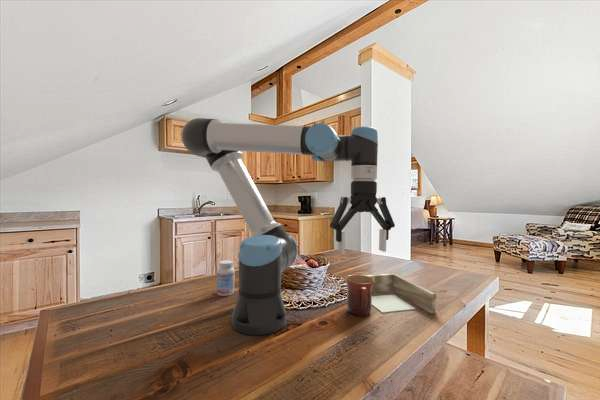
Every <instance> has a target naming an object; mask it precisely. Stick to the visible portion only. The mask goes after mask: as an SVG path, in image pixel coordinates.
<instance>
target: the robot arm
mask: <svg viewBox="0 0 600 400" xmlns="http://www.w3.org/2000/svg"><path fill="white" fill-rule="evenodd" d="M378 135H379V134H378V130H377V129H376V128H375V127H372V126H366V125H365V126H359V127H355V128H354V127H353V129H352V130H351V134H349V135H338V133H337V132H336V131H335V129H334V128H333V127H332V126H330V125H329V124H326V123H323V122H318V123H315V124H313V125H309V126H308V125H307V126H306V125H283V124H280V125H279V124H261V123H260V124H259V123H258V124H257V123H231V122H222V121H221V120H220V119H218V118H203V117H198V118H197V117H196V118H193V119H191V120H189V121H187V122H186V123H185V125H184V126H183V128H182V131H181V140H182V141H181V142H182V145H183V146H184V147H185V149H186V150H187V151H188V152H189V153H190V154H192V155H194V156H197V157H201V158H205V159H206V161H207V163H208V165H209V166H210V168H211V170H212V171H215V172H217V173H218V174H219V175H220V178H221V179H222V181H223V183H224V185H225V187H226V189H227V191H228V192H229V194H230V196H231V198H232V200H233V202H234V203H235V206H236V207H237V209H238V211H239V214H241V217H242V218H243V220H244V222H245V224H246V226H247V228H248V230H249V232H250V233H251V236H249V237H247V238H244V239H243V240H242V241H241V242H240V244H239V249H238V251H239V252H238V297H237V299H236V303H235V305H234V307H233V311H232V314H231V325H232V328H233V329H234V330H235V331H237V332H239V333H240V334H245V335H249V336H262V335H269V334H273V333H275V332H278V331H280V330H281V329H283V328H284V327H285V326H286V325H287V314H288V313H287V311H286V307H285V303H284V299H283V297H282V294H281V293H282V290H281V289H282V288H281V287H282V274H283V273H284V272H285V271H286V269H288V268H290V267H291V266H292V265H293V264H294V263H295V260H296V258H297V256H298V252H299V247H298V243H297V240H296V239H295V238H294V237H293V236H292V235H291V234H290V233H287V232H286V230H285V228H284V226H283V224H282V223H281V222H278V221H277V222H276V221H275V219H274V217H273V216H272V213H271V211H270V210H269V208H268V207H267V205H266V203H265V201H264V199H263V198H262V196H261V193H260V192H259V190H258V188H257V186H256V185H255V182H254V181H253V179H252V177H251V175H250V174H249V172H248V170H247V168H246V166H245V164H244V162H243V158H244V153H243V152H250V153H251V152H252V153H253V152H254V153H270V154H285V155H287V154H288V155H304V156H311V159H312V160H313V161H315V162H322V163H325V162H341V161H342V162H345V161H346V162H351V165H350V172H351V173H350V179H351V180H352V181H351V182H350V197H347V196H341V197H340V200H339V206H338V207H337V210H336V212H335V213H334V215H333V218H332V220H331V222H330V223H329V228H331V229H332V230H335V242H338V245H337V246H338V250H337V251H338V253H340V254H342V255H345V247H346V246H345V245H346V244H345V242H346V240H345V239H346V231H345V230H344V228H345V227H346V226H347V225H348V223H349V222H350V221H351V220H352V219H353V217H354V216H355V215H356V214H357V213H370V214H371V215H372V216H373V218H374V219H375V220H376V222H377V223H378V224H379V226H380V227H381V228H379V229H378V230H379V233H378V234H379V235H378V236H379V237H378V242H379V243H378V250H379V251H381V252H383V253H385V252H387V241H389V234H390V233H389V231H390V230H392V228H395V226H396V225H395V222H394V220H393V217H392V215H391V213H390V210H389V208H388V204H387V198H386V197H385V196H379V197H377V192H378V189H377V188H378V187H377V186H378V182H377V181H376V180H377V179H378V150H379V149H378V148H379V143H378V142H379V140H378V139H379V138H378V137H379V136H378ZM349 203H350V204H351V206H350V207H349V208H348V211H347V212H346V213H345V211H346V209H347V206H348V205H349ZM376 204H378V207H379V209H378V208H377V207H376ZM379 210H380V211H381V213H380V212H379ZM344 213H345V215H344ZM381 214H382V215H381ZM343 215H344V216H343Z"/></svg>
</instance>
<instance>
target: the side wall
mask: <svg viewBox="0 0 600 400" xmlns="http://www.w3.org/2000/svg"><path fill="white" fill-rule="evenodd" d="M393 274H394V273H392V272H391V273H379V274H377V273H376V274H364V275H365V276H369V277H371V278H373V279H374V280H375V281H374V284H373V287H372V293H376V292H377V293H378V292H389V291H390V292H391V291H393Z"/></svg>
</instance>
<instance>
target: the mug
mask: <svg viewBox="0 0 600 400" xmlns="http://www.w3.org/2000/svg"><path fill="white" fill-rule="evenodd" d="M365 275H366V274H364V275H362V274H350V275H346V276H345V278H344V279H345V282H346V287H347V294H346V307H347V311H348V312H349V313H350V314H351V315H354V316H357V317H364V316H365V317H366V316H368V315H369V314H370V313H371V311H372V307H373V306H372V297H373V296H372V293H373V292H372V287H373V284H374V281H375V280H374V279H373V278H371V277H369V276H365Z"/></svg>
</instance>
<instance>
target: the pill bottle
mask: <svg viewBox="0 0 600 400" xmlns="http://www.w3.org/2000/svg"><path fill="white" fill-rule="evenodd" d="M218 264H219V265H218V266H219V268H217V270H216V294H217V296H221V297H228V296H231V295H233V294H234V293H235V274H236V273H235V272H236V271H235V268H234V267H233V266H234V261H232V260H229V259H227V260H226V259H225V260H220V261H219V263H218Z"/></svg>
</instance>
